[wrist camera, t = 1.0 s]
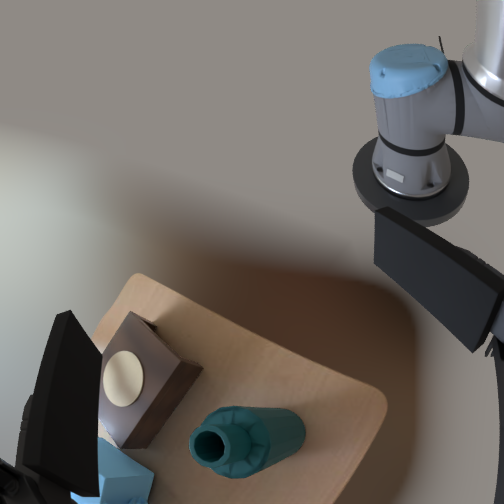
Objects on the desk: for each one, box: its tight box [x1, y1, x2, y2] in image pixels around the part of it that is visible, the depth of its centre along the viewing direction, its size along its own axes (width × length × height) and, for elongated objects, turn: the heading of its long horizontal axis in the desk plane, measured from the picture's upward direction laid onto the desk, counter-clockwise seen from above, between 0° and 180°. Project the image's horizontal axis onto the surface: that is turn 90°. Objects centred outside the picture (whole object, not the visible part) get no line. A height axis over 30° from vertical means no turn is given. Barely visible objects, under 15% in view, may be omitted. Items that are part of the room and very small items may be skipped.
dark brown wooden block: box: [98, 311, 203, 449], centre depth 41 cm, size 18×14×6 cm
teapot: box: [71, 437, 154, 504], centre depth 30 cm, size 22×11×14 cm, turn 73°
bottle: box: [189, 406, 306, 479], centre depth 25 cm, size 7×7×18 cm
